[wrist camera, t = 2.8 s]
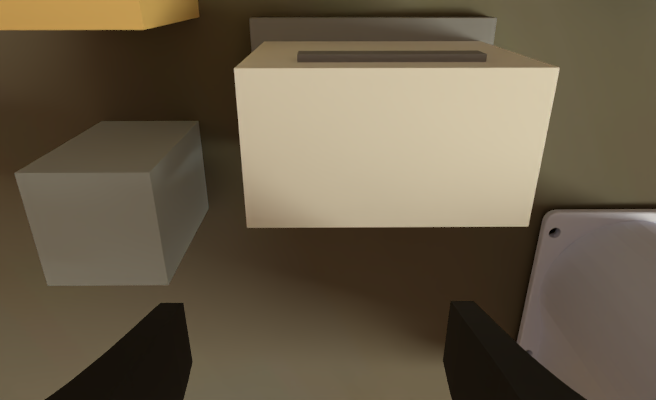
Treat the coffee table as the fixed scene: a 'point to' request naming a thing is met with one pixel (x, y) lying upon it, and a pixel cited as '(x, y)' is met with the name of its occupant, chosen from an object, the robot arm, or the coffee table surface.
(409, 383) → the coffee table surface
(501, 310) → the coffee table surface
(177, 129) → the slate block
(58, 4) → the ochre block
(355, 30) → the cream unit
